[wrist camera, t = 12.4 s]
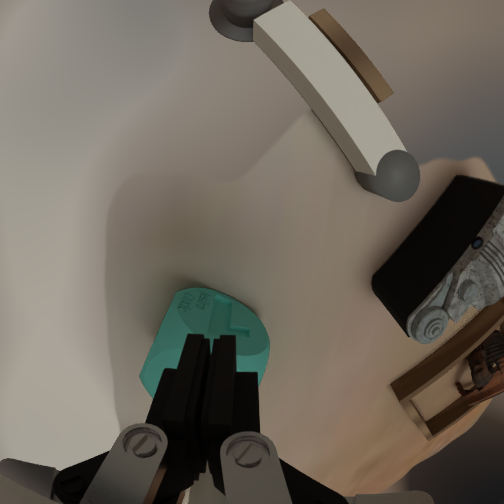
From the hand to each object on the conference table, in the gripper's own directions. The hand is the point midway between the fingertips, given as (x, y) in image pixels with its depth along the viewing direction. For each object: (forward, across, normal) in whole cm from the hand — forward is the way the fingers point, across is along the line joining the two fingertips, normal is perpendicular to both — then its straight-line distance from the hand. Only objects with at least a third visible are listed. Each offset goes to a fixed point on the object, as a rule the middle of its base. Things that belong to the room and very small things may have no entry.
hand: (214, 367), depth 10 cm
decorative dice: (+15, +2, +8) cm, 17 cm away
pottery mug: (+15, -32, +16) cm, 39 cm away
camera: (+15, -19, 0) cm, 24 cm away
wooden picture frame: (+15, -30, +17) cm, 38 cm away
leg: (+14, -7, -11) cm, 20 cm away
